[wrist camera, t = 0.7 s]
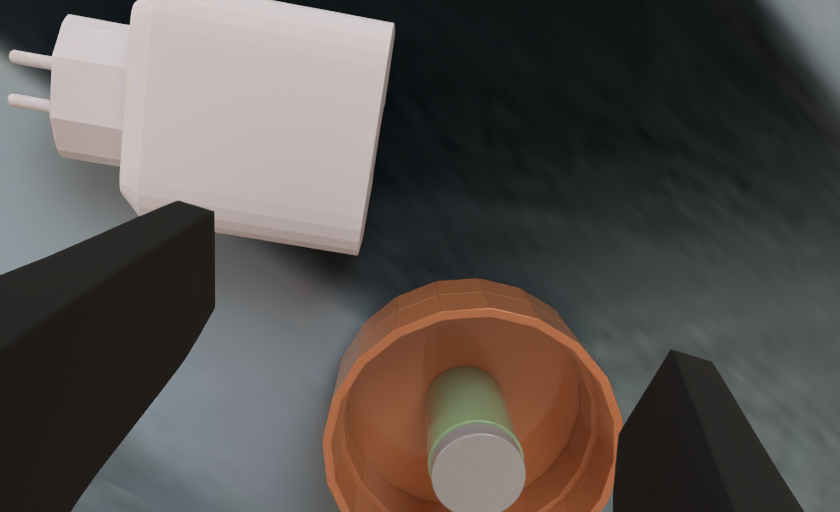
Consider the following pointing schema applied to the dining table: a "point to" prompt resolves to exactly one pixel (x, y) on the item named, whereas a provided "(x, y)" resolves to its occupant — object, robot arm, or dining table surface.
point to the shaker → (472, 442)
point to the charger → (228, 112)
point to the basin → (503, 359)
